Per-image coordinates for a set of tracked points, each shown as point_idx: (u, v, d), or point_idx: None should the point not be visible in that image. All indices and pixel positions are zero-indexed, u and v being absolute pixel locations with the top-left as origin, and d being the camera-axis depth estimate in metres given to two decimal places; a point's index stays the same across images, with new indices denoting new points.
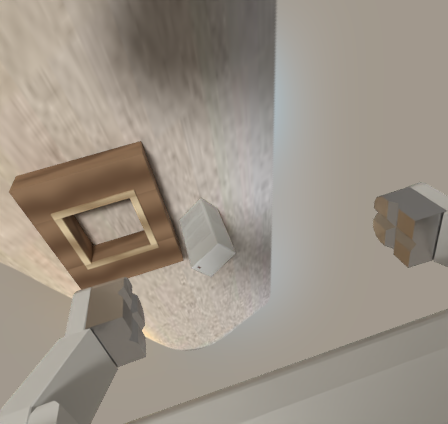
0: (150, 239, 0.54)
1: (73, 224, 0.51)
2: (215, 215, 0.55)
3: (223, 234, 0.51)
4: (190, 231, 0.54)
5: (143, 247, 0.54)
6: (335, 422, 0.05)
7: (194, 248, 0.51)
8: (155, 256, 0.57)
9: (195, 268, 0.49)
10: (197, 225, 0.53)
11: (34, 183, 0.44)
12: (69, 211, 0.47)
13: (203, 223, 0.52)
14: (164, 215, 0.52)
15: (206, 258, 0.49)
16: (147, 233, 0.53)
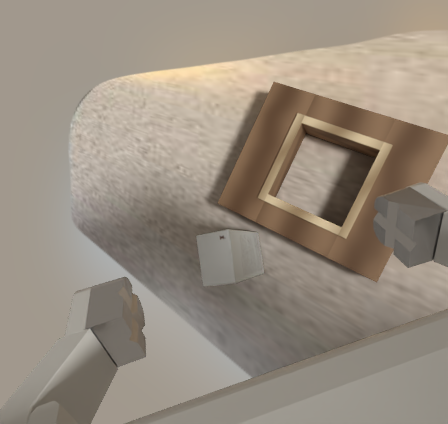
0: (275, 199, 0.42)
1: (352, 146, 0.42)
2: None
3: None
4: (249, 245, 0.42)
5: (271, 184, 0.43)
6: (335, 422, 0.05)
7: (239, 243, 0.39)
8: (249, 183, 0.44)
9: (224, 232, 0.36)
10: (251, 257, 0.42)
11: None
12: (379, 163, 0.38)
13: (250, 268, 0.41)
14: (289, 236, 0.42)
15: (226, 254, 0.36)
16: (284, 203, 0.42)
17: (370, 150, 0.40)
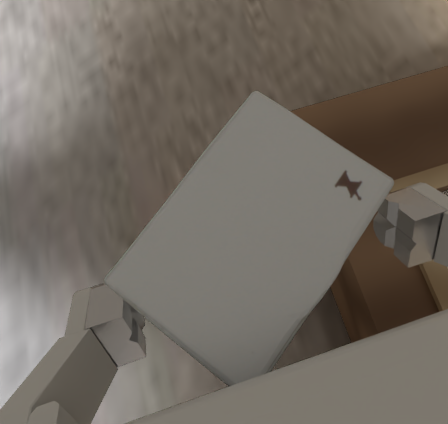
0: None
1: None
2: None
3: None
4: None
5: (437, 187, 0.16)
6: (335, 422, 0.05)
7: None
8: (390, 141, 0.17)
9: (371, 178, 0.08)
10: None
11: None
12: None
13: None
14: (381, 323, 0.15)
15: (310, 257, 0.07)
16: None
17: None
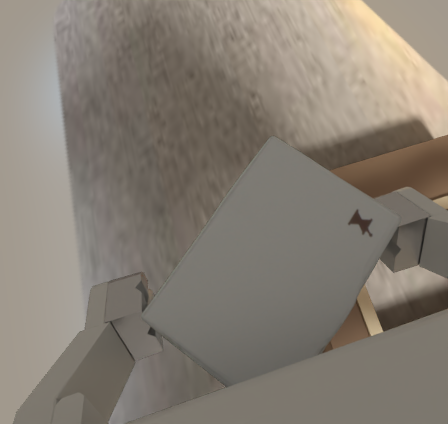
0: None
1: None
2: None
3: None
4: None
5: None
6: (335, 422, 0.05)
7: None
8: None
9: (381, 215, 0.08)
10: None
11: None
12: None
13: None
14: None
15: (327, 291, 0.08)
16: None
17: None
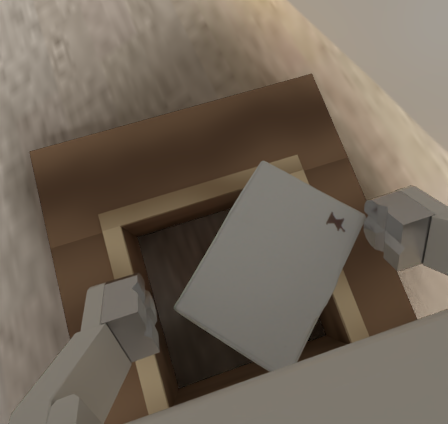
0: (120, 248, 0.18)
1: None
2: None
3: None
4: None
5: (143, 218, 0.19)
6: (335, 422, 0.05)
7: None
8: (113, 177, 0.19)
9: (350, 215, 0.11)
10: None
11: None
12: None
13: None
14: None
15: (315, 275, 0.10)
16: (127, 272, 0.18)
17: (335, 323, 0.19)
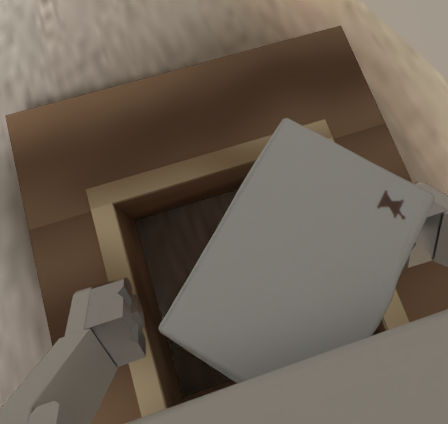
0: (112, 230, 0.15)
1: None
2: None
3: None
4: None
5: (140, 194, 0.15)
6: (335, 422, 0.05)
7: None
8: (104, 146, 0.16)
9: (412, 195, 0.08)
10: None
11: None
12: None
13: None
14: (57, 334, 0.14)
15: (362, 283, 0.07)
16: (121, 259, 0.15)
17: None
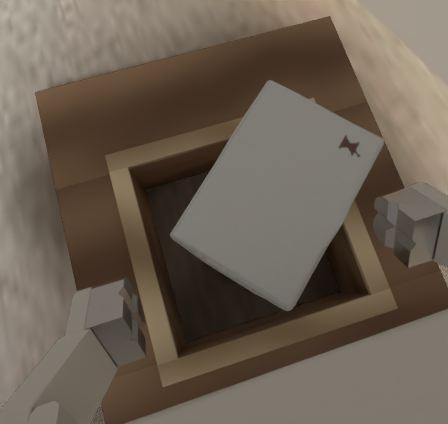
0: (127, 190, 0.17)
1: None
2: (221, 272, 0.17)
3: None
4: None
5: (151, 160, 0.18)
6: (335, 422, 0.05)
7: None
8: (120, 119, 0.19)
9: (366, 139, 0.10)
10: None
11: None
12: (348, 317, 0.16)
13: None
14: (80, 277, 0.17)
15: (325, 203, 0.10)
16: (135, 214, 0.17)
17: (351, 274, 0.18)
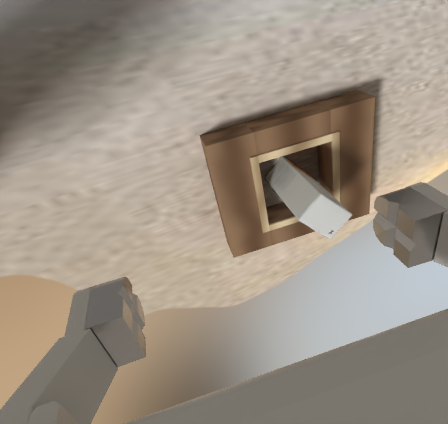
0: (323, 141, 0.42)
1: (283, 209, 0.50)
2: (283, 175, 0.44)
3: (299, 191, 0.40)
4: None
5: (332, 150, 0.43)
6: (335, 422, 0.05)
7: None
8: (352, 135, 0.43)
9: (331, 235, 0.40)
10: None
11: (229, 239, 0.47)
12: (263, 218, 0.46)
13: None
14: (293, 123, 0.40)
15: (319, 227, 0.39)
16: (313, 145, 0.42)
17: (272, 217, 0.49)
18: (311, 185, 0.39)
